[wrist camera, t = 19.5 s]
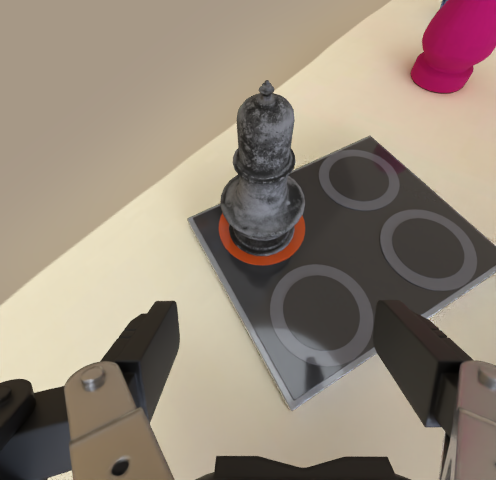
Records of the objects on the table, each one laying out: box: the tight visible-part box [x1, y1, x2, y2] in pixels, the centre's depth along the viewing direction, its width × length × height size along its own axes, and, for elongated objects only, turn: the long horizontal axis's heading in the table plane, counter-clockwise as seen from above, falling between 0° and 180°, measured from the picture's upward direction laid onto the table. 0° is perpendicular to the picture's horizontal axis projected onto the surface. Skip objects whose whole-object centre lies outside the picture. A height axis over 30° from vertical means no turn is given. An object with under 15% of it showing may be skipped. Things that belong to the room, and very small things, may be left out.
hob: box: [187, 136, 496, 411], centre depth 23 cm, size 20×16×2 cm
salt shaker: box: [220, 80, 305, 256], centre depth 17 cm, size 6×6×12 cm
